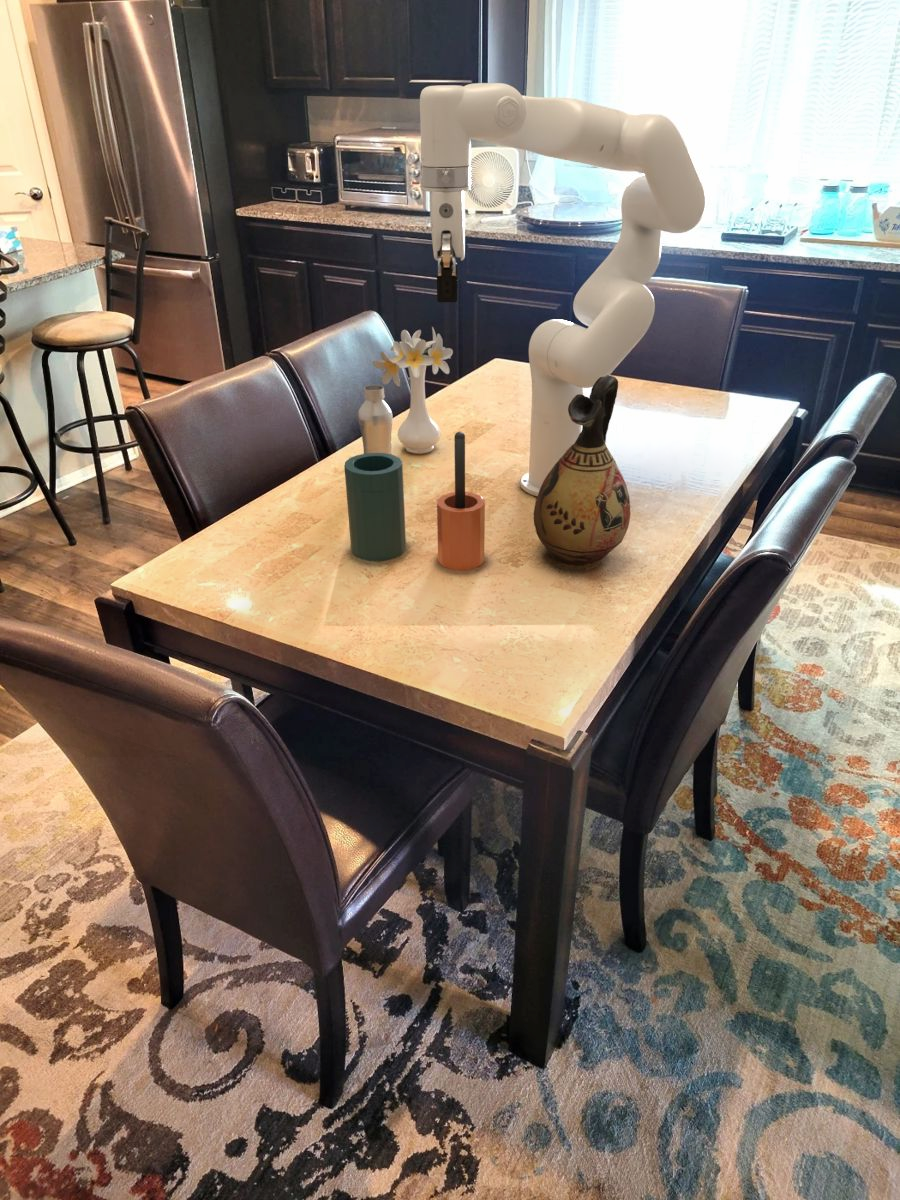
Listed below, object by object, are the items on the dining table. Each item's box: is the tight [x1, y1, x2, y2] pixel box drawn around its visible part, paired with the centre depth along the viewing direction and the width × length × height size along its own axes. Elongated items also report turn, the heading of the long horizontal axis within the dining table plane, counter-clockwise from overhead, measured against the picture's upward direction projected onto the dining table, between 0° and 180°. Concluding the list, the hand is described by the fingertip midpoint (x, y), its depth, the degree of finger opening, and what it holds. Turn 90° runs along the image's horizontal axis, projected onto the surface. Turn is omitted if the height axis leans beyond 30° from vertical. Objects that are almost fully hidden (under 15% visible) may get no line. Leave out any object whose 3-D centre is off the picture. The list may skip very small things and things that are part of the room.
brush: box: [453, 431, 466, 509], centre depth 135 cm, size 3×3×22 cm
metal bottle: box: [357, 384, 394, 455], centre depth 163 cm, size 6×7×20 cm
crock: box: [436, 491, 486, 571], centre depth 138 cm, size 8×8×11 cm
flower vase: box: [372, 326, 454, 455], centre depth 178 cm, size 13×18×25 cm
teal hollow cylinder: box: [344, 453, 407, 562], centre depth 140 cm, size 9×9×16 cm
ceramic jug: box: [533, 374, 631, 571], centre depth 135 cm, size 17×15×30 cm
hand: (447, 295), depth 139 cm, fingers open, 9 cm apart
